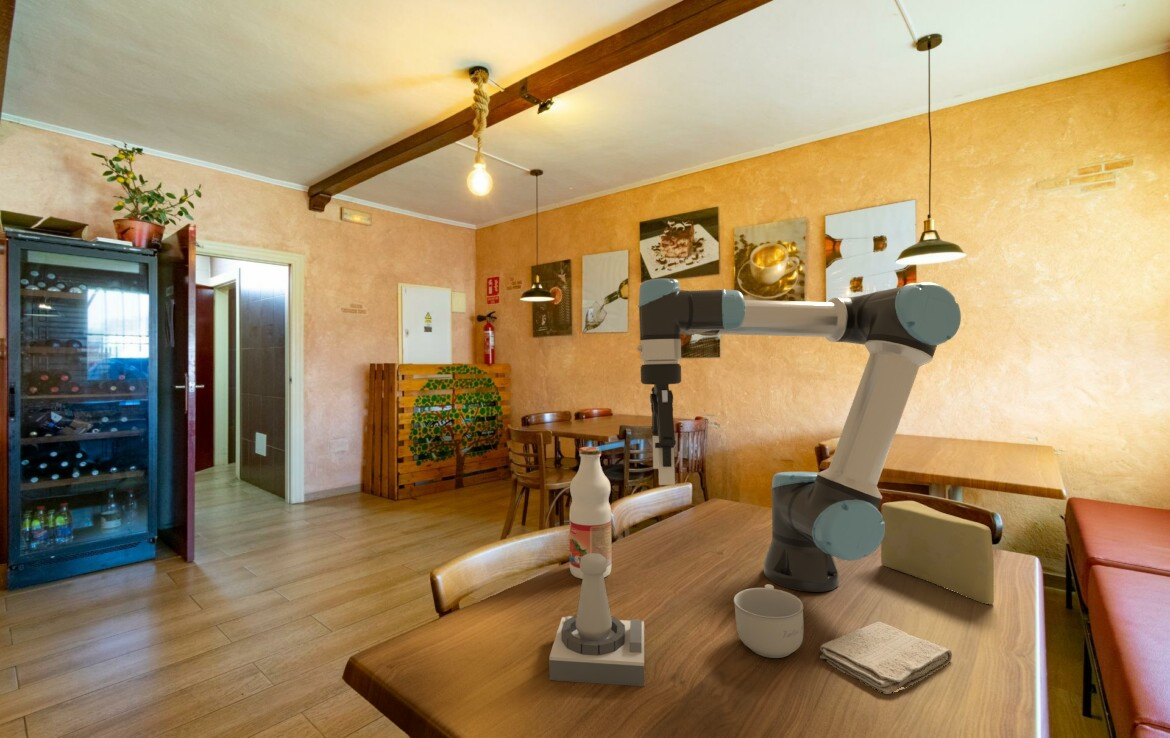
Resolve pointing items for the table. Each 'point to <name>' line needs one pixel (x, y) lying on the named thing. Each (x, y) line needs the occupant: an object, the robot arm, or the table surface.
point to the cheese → (939, 549)
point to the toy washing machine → (599, 654)
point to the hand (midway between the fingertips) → (663, 476)
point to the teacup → (769, 621)
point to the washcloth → (885, 656)
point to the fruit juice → (590, 512)
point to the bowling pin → (593, 600)
